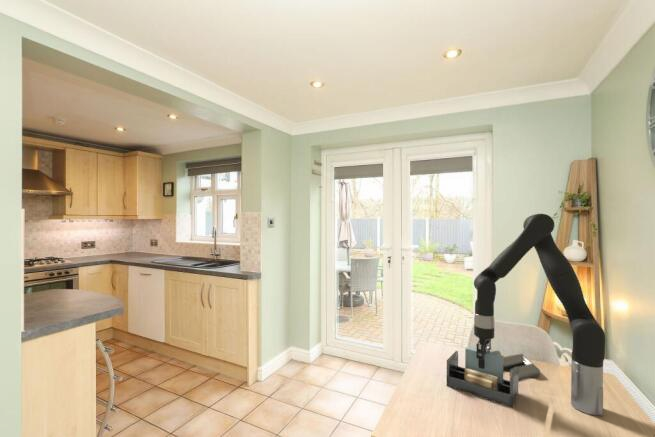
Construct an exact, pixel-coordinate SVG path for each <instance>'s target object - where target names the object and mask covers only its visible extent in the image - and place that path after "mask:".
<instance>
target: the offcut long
mask: <svg viewBox="0 0 655 437" xmlns="http://www.w3.org/2000/svg"><path fill="white" fill-rule="evenodd" d="M468 374H471V375H474V376H477V377H481V378H484V379H488V380H491V381H493V386H492V389H493V390H496V391H498V377H496V376H492V375H489V374H485V373H482V372H478V371H475V370H471V369H468V368H466V369H465V381H467V375H468Z"/></svg>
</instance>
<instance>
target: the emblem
mask: <svg viewBox="0 0 655 437" xmlns="http://www.w3.org/2000/svg"><path fill="white" fill-rule="evenodd" d="M490 353H493V354H497V355H501V356H502V354H501V351H500V350H493V351H491V350H490ZM515 367H518V381H519V380H523V379H525V378H529V379H535V378H538V377H540V376H541V370H540V368H538V366H536V365H535V364H534V363H533V362H532V361H531V360H530V359H529V358H528V357H527V356H525V355H524V354H523V353H517V354H512V355H507V356H506V355H505V356H504V362H503V372H507V373H509V378H510V377H511V375H512V373H513V371H514V369H515Z"/></svg>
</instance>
